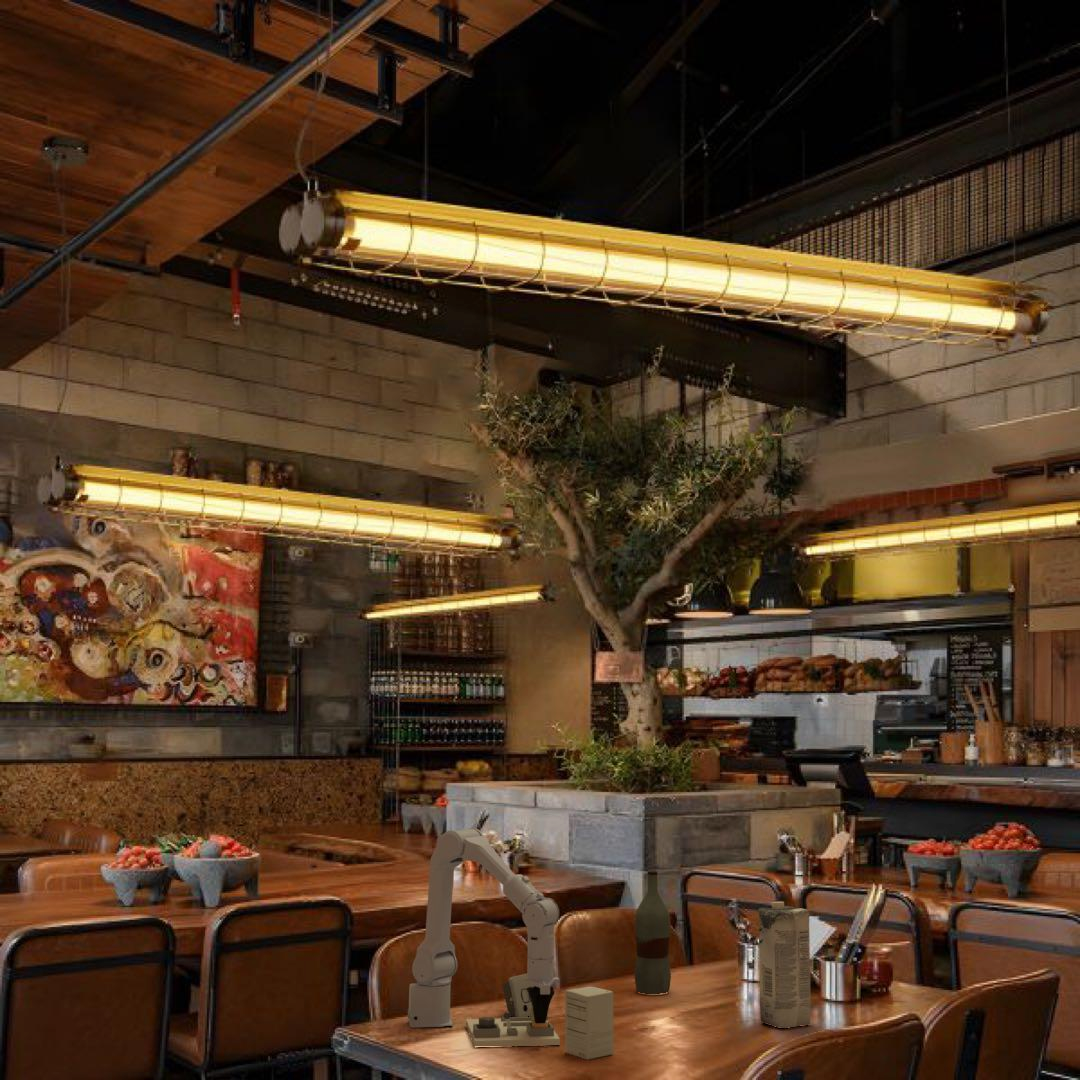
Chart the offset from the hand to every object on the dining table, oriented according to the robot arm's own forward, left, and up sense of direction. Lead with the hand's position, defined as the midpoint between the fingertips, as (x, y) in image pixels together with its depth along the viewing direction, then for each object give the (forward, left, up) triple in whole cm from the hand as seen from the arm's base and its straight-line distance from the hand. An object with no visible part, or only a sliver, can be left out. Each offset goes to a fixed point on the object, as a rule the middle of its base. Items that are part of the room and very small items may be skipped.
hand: (540, 1022), depth 288 cm
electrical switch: (-1, +25, -4) cm, 25 cm away
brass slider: (0, +10, -2) cm, 10 cm away
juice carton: (+57, +9, -4) cm, 58 cm away
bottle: (+35, +47, -4) cm, 59 cm away
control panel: (-6, +5, -4) cm, 8 cm away
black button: (-12, 0, -1) cm, 12 cm away
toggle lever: (-6, 0, -2) cm, 7 cm away
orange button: (0, 0, -2) cm, 2 cm away
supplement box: (+8, -12, -4) cm, 15 cm away
